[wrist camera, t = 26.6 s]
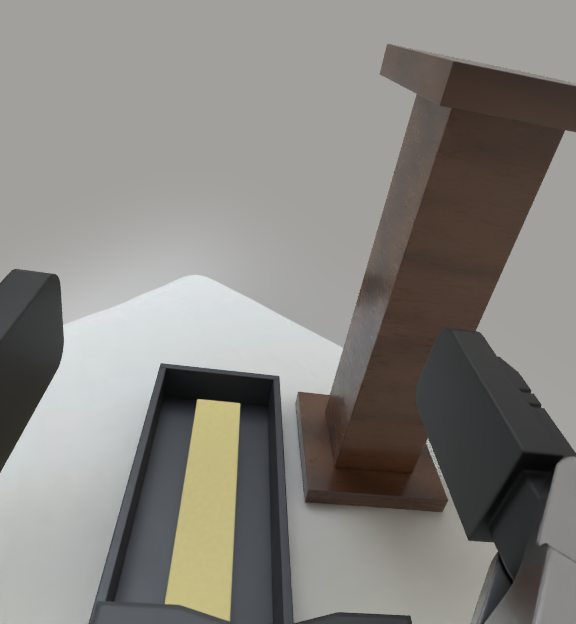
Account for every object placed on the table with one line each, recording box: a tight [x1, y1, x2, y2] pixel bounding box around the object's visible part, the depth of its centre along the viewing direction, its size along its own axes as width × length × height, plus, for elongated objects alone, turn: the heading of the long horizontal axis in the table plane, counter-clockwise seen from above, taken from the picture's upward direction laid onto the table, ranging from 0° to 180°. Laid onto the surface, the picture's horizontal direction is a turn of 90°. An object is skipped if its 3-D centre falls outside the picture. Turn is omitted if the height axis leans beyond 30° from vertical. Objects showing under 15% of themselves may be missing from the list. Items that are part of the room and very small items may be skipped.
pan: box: [89, 363, 293, 624], centre depth 37 cm, size 25×11×4 cm, turn 3°
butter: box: [165, 399, 240, 621], centre depth 36 cm, size 19×4×3 cm, turn 3°
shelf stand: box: [296, 44, 576, 512], centre depth 38 cm, size 14×12×33 cm
